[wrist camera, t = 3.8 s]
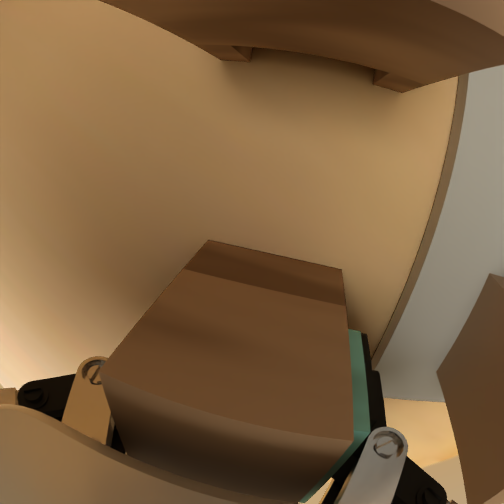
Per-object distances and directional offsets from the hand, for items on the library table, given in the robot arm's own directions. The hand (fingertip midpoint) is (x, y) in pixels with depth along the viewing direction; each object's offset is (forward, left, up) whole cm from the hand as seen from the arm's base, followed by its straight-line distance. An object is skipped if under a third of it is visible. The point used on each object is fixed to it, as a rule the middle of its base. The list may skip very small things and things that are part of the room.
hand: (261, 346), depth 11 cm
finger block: (0, 0, -2) cm, 2 cm away
